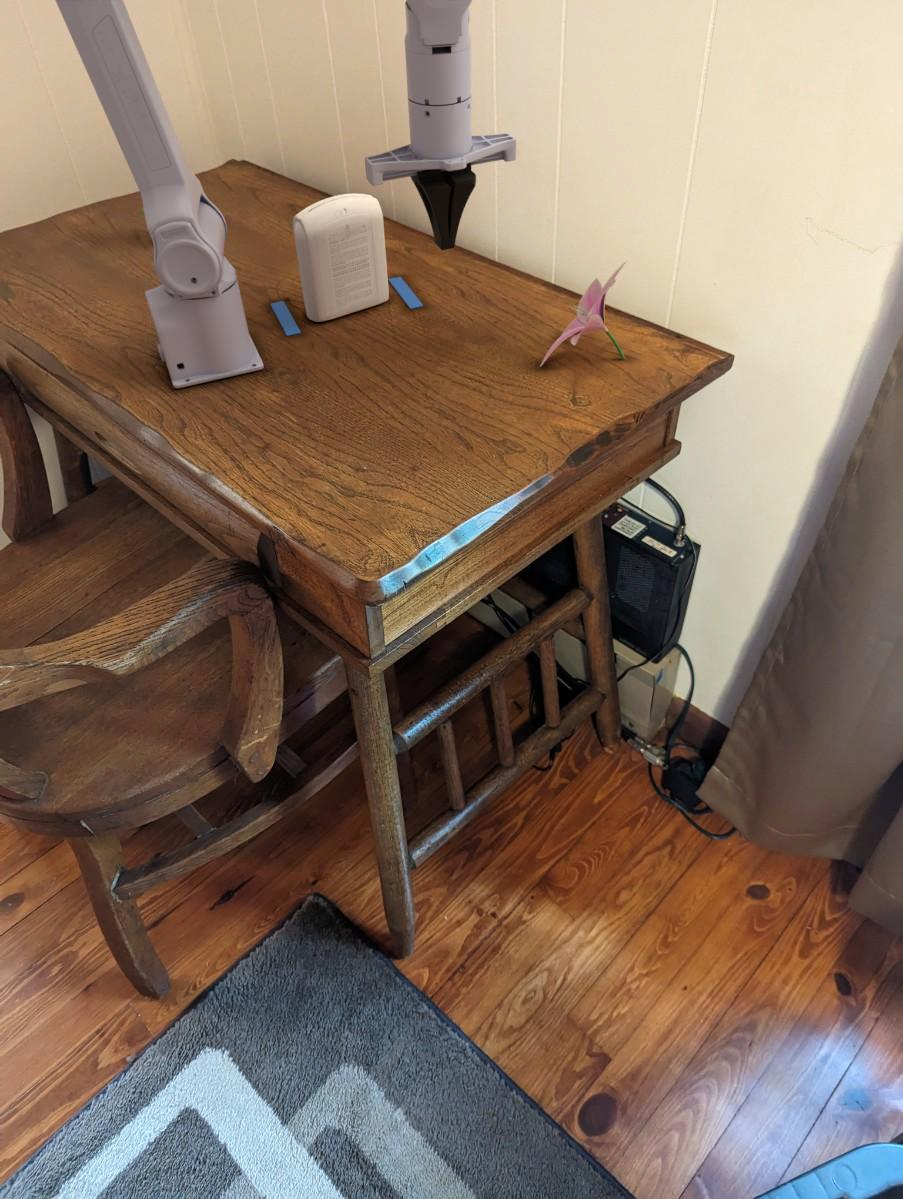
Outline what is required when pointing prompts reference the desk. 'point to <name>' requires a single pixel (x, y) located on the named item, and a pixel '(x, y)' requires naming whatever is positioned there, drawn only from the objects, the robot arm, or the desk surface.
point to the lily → (589, 314)
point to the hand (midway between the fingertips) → (444, 245)
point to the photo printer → (341, 255)
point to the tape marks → (292, 328)
